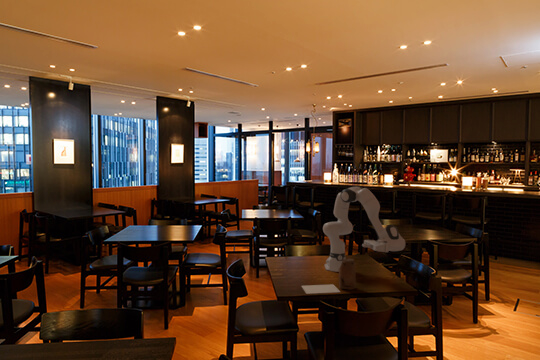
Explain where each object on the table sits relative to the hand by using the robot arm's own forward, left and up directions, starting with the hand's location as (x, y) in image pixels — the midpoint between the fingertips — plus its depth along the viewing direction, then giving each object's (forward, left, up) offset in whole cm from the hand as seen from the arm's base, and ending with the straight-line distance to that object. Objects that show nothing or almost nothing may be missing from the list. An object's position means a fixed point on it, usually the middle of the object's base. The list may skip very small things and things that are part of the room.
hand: (362, 245), depth 237 cm
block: (0, -11, -29) cm, 31 cm away
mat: (0, -30, -29) cm, 41 cm away
